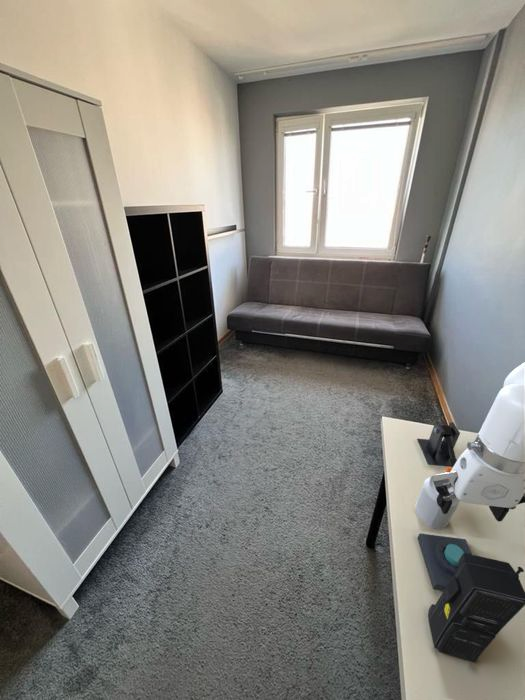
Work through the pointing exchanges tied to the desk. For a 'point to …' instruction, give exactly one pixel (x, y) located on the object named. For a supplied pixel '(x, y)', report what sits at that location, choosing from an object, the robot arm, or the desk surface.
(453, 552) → the socket button
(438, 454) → the kettle bracket
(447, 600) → the portable radio
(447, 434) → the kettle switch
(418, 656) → the desk surface
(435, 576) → the socket block
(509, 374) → the robot arm
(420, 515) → the can
